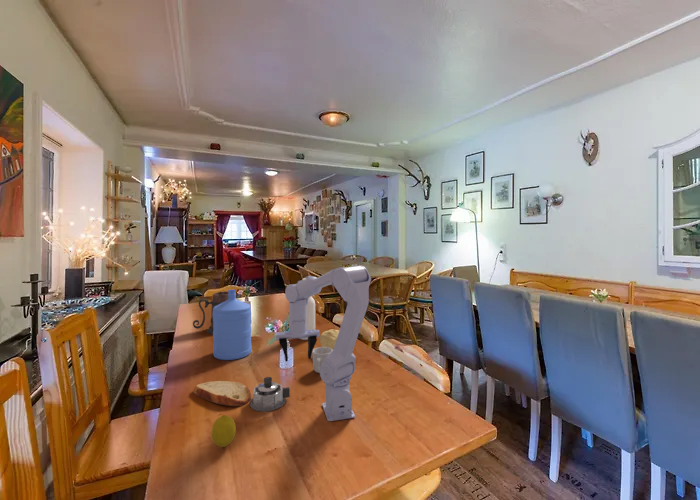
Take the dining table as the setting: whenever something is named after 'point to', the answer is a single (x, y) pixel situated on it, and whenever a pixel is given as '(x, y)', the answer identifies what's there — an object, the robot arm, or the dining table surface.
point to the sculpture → (329, 338)
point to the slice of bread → (224, 393)
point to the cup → (320, 357)
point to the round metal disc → (266, 408)
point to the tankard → (216, 300)
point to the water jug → (232, 329)
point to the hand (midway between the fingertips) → (297, 359)
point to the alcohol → (310, 315)
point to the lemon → (223, 431)
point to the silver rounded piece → (268, 387)
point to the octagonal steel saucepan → (270, 397)
